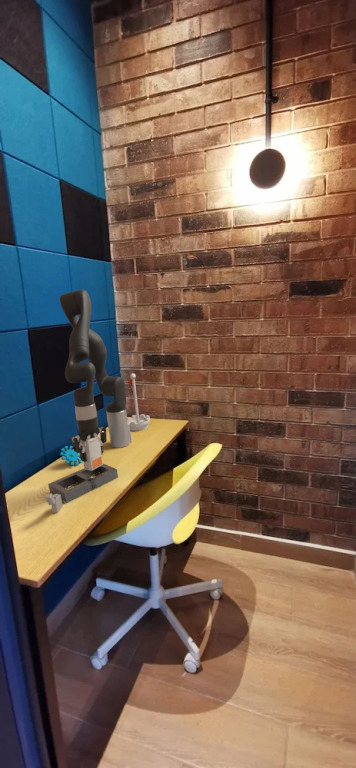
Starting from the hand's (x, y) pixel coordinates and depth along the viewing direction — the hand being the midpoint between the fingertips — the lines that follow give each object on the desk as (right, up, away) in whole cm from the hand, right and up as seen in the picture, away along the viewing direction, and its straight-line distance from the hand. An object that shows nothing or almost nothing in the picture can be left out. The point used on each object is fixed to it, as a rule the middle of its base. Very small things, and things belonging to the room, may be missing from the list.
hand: (92, 457), depth 133 cm
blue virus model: (-13, -7, +19) cm, 24 cm away
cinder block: (-2, -10, -2) cm, 10 cm away
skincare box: (0, -4, +1) cm, 4 cm away
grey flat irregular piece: (-7, -14, -18) cm, 24 cm away
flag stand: (+11, +4, +58) cm, 59 cm away
